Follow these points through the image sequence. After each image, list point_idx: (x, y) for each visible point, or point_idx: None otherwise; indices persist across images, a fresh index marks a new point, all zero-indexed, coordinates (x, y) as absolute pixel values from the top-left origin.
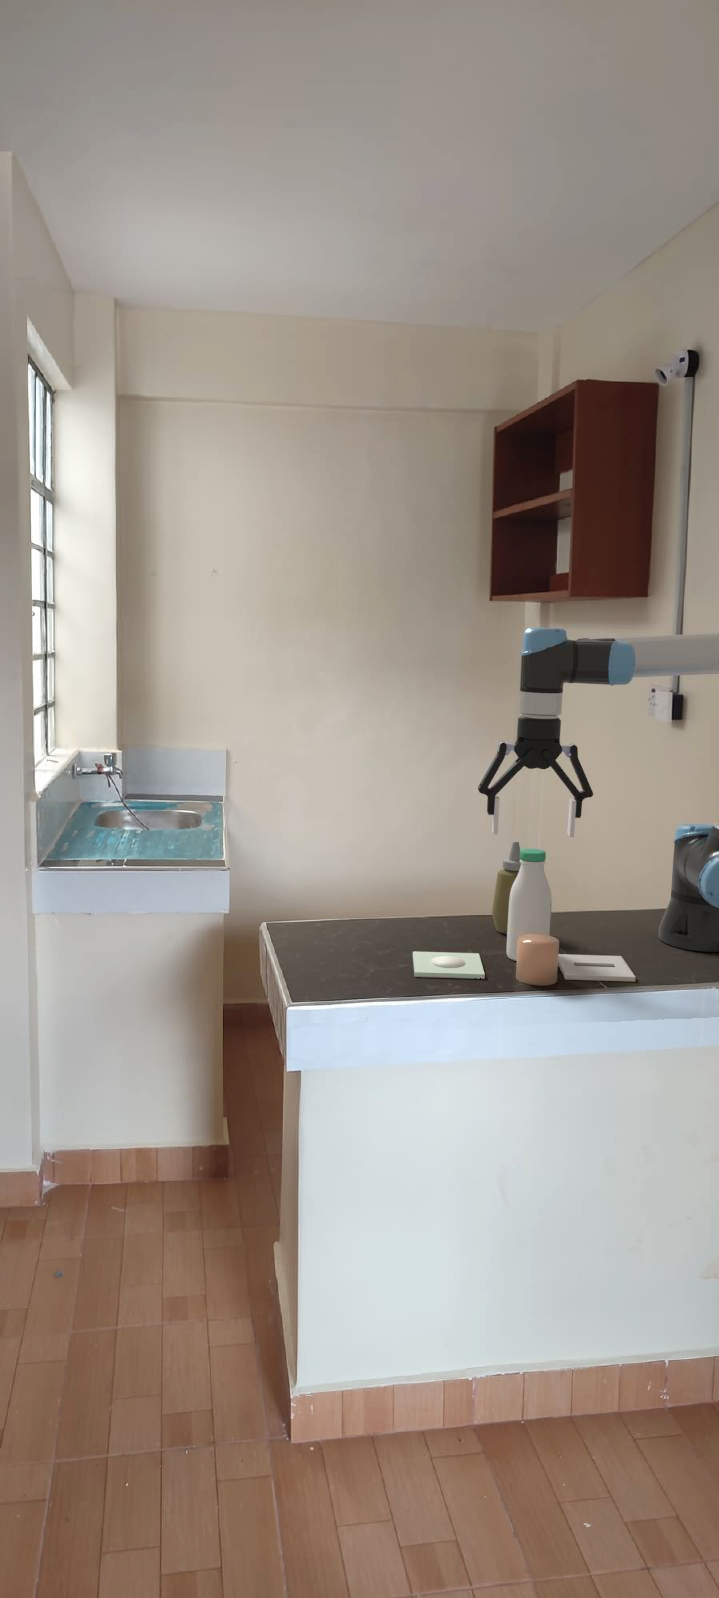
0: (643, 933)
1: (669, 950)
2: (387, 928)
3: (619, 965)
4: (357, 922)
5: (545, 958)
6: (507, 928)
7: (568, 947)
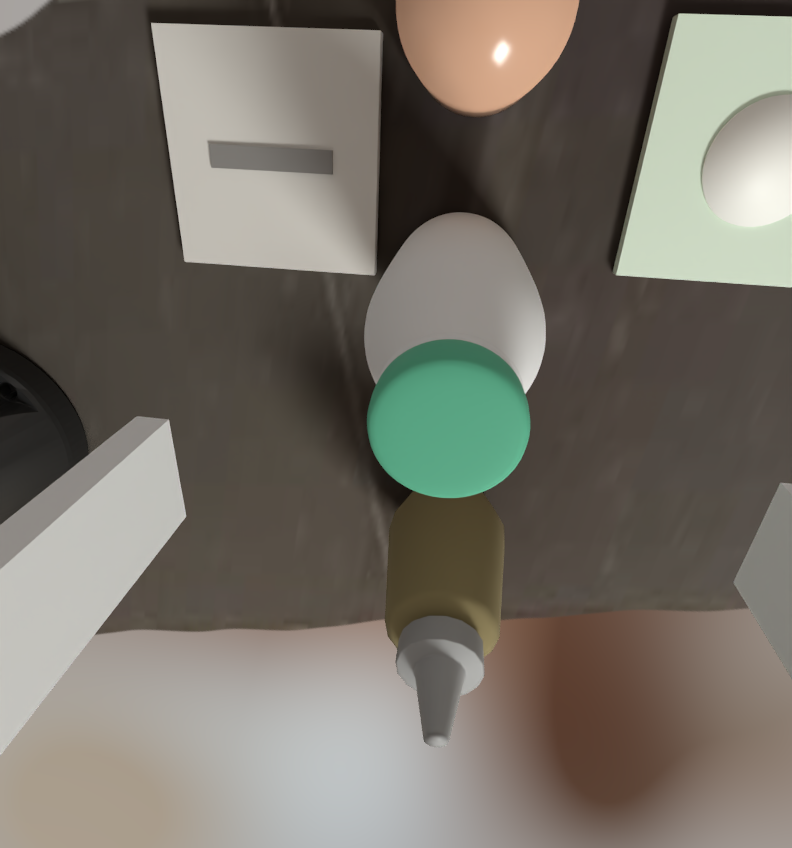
0: None
1: (62, 353)
2: None
3: (194, 160)
4: None
5: None
6: None
7: (321, 376)
